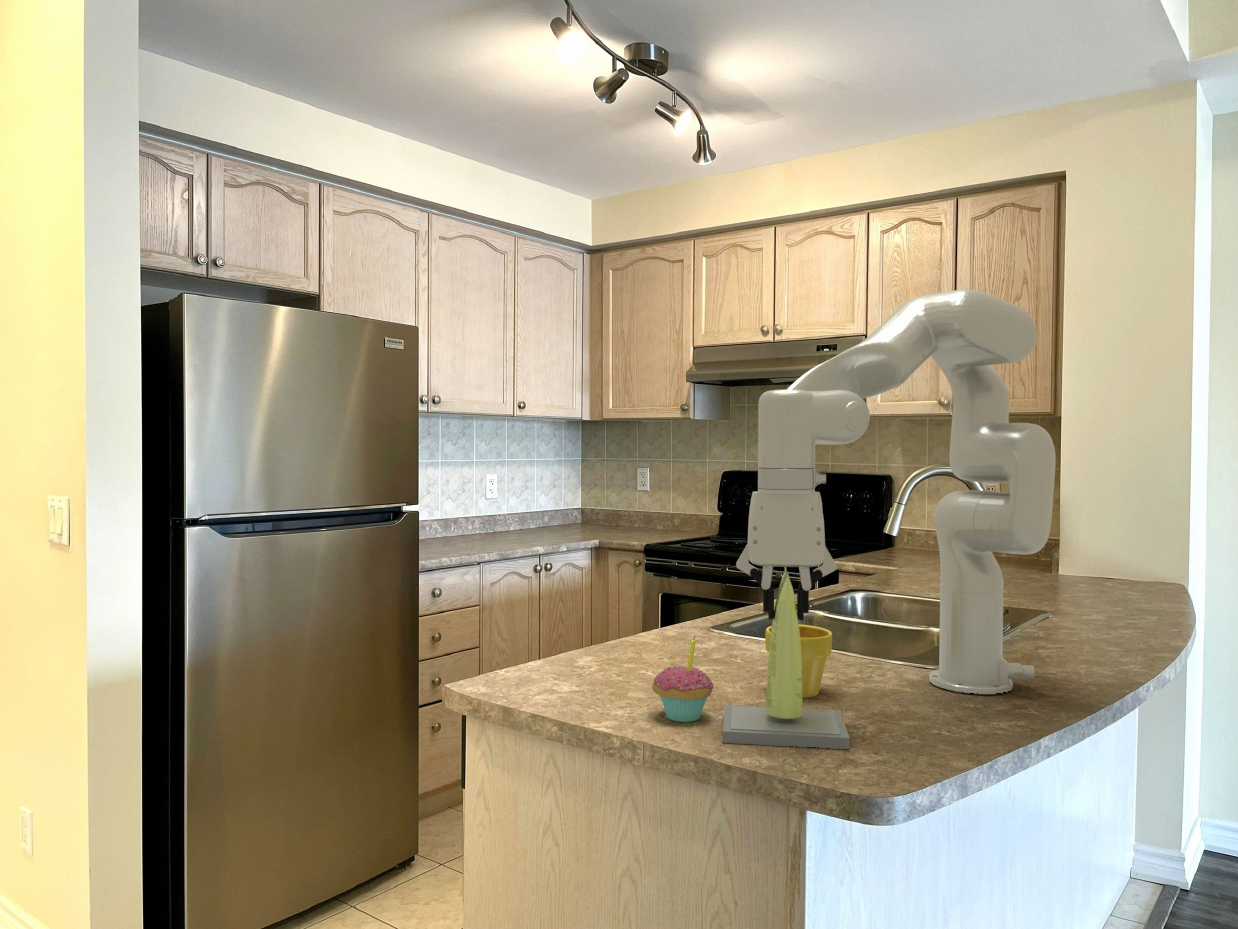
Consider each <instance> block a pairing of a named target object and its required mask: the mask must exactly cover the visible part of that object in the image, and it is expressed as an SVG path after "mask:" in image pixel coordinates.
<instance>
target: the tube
mask: <svg viewBox="0 0 1238 929" xmlns="http://www.w3.org/2000/svg"><path fill="white" fill-rule="evenodd" d="M781 577H782V578H781V580H780V583H779V587H778V590H777V594H776V598H775V599H776V600H775V603H774V619H772V623H771V626H772V629H771V637H770V647H769V652H768V659H767V660H768V661H767V674H766V675H767V676H766V678H767V679H766V692H765V693H766V694H765V695H766V696H765V707H766V713H767V714H769V715H771V716H773V717H777V718H782V719H794V718H798V717H800V716H801V715H802V712H803V709H804V708H803V702H804V700H803V699H804V698H803V690H802V658H801V642H800V631H799V625H800V624H799V619H798V616H797V601H796V597H795V593H794V588H793V585H792V582H791V578H790V575H789V573H788V570H787V567H784V572H783V575H782V576H781Z"/></svg>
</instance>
